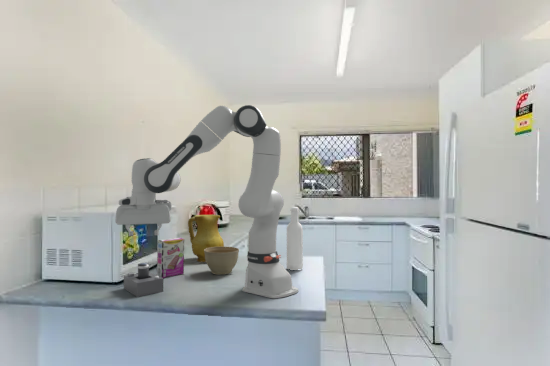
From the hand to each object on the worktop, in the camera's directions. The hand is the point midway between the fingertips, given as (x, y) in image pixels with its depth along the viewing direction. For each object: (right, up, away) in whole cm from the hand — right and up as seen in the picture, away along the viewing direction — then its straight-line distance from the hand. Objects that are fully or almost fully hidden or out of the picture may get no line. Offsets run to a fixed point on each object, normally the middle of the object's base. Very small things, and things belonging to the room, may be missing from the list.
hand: (143, 235), depth 139 cm
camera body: (0, -21, 0) cm, 21 cm away
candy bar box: (+4, -22, +22) cm, 31 cm away
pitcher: (+14, -22, +56) cm, 62 cm away
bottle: (+61, -21, +34) cm, 73 cm away
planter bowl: (+26, -22, +27) cm, 43 cm away
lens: (0, -19, 0) cm, 19 cm away
